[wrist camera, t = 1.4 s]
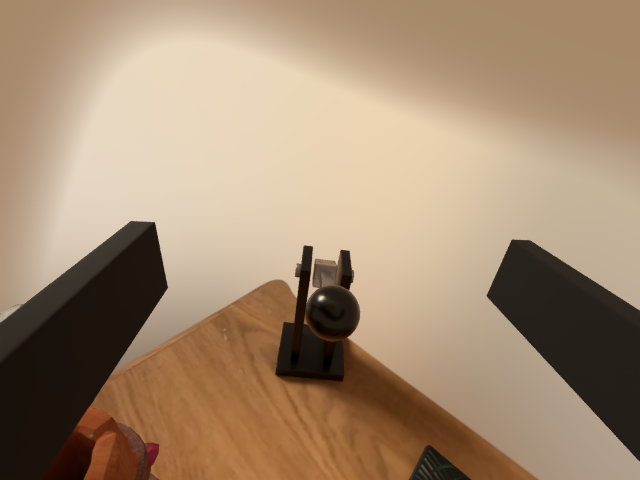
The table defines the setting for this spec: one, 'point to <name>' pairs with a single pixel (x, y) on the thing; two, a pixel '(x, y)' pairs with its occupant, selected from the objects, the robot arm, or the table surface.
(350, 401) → the table surface
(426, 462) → the smartphone
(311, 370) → the switch
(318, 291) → the lever
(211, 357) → the table surface
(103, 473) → the mug
